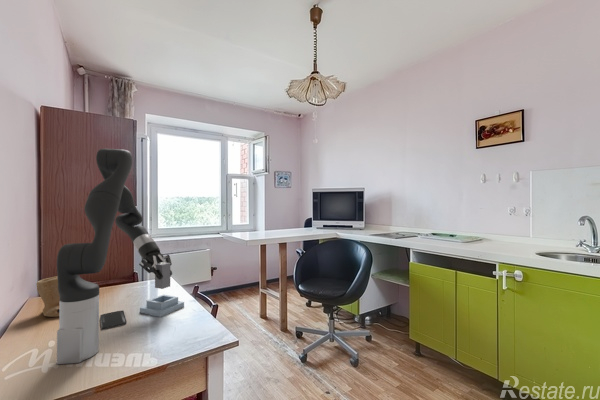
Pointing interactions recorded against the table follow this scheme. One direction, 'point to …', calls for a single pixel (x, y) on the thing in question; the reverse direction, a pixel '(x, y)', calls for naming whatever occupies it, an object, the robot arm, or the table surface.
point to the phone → (112, 319)
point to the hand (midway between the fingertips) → (166, 276)
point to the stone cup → (49, 296)
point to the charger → (165, 272)
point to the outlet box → (161, 305)
